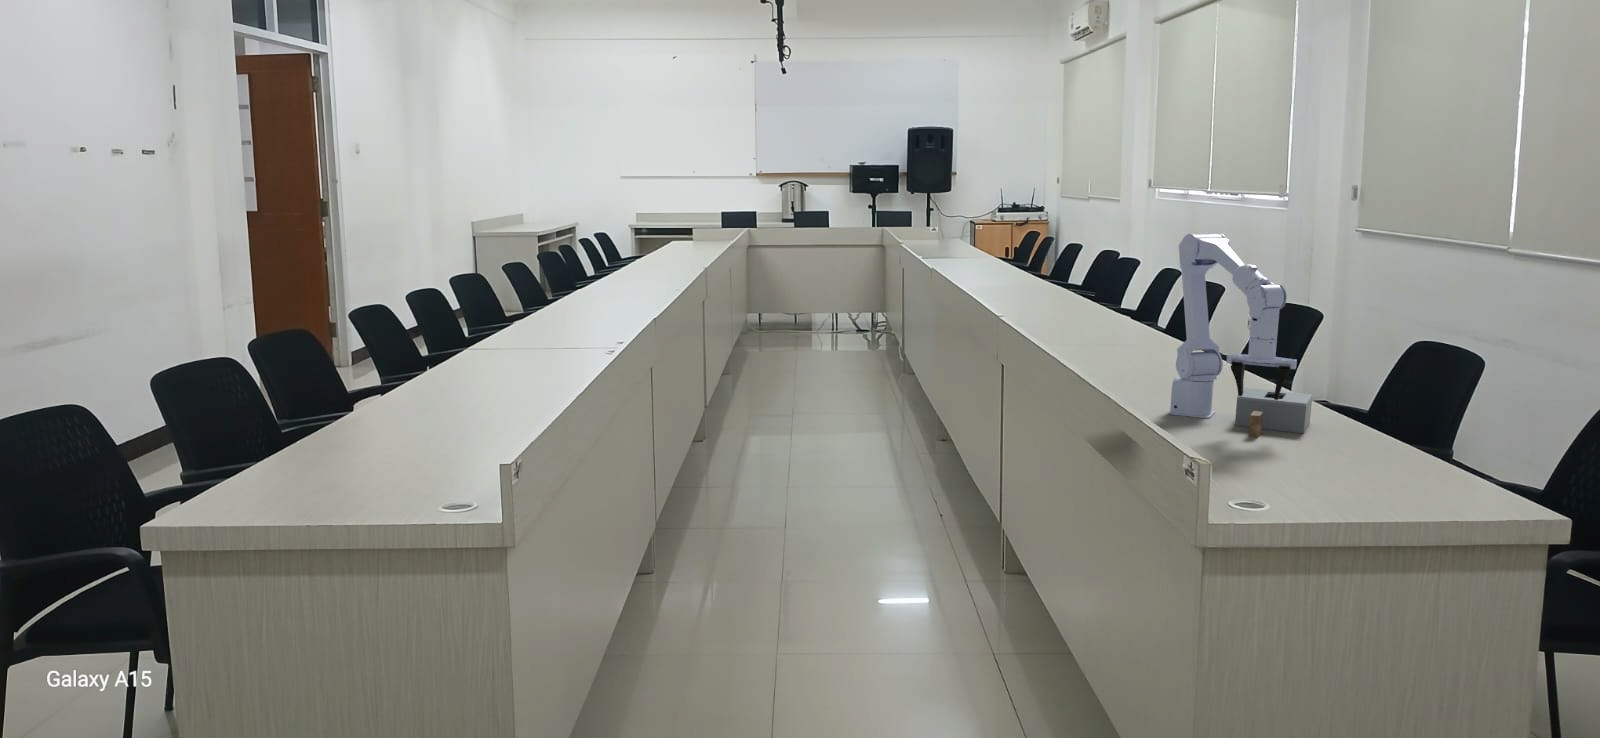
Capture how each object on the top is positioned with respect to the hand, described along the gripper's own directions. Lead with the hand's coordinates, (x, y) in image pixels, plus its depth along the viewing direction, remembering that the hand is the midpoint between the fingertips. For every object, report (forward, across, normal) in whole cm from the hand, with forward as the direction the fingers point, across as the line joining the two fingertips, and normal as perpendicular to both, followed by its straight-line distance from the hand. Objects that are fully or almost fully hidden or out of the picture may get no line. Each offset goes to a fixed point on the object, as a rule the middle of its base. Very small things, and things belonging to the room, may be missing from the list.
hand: (1258, 397), depth 262 cm
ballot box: (+9, +2, +13) cm, 16 cm away
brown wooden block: (+9, 0, 0) cm, 9 cm away
